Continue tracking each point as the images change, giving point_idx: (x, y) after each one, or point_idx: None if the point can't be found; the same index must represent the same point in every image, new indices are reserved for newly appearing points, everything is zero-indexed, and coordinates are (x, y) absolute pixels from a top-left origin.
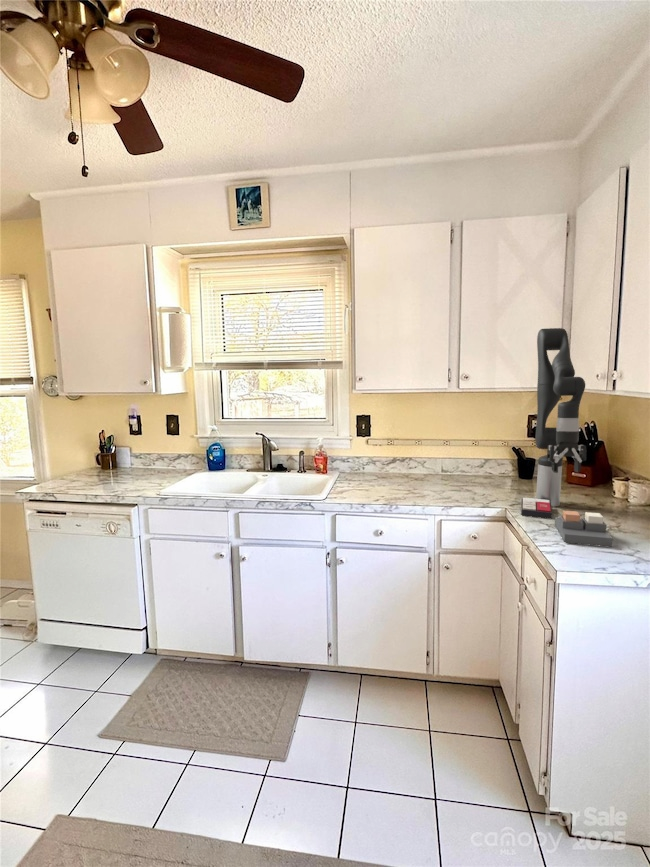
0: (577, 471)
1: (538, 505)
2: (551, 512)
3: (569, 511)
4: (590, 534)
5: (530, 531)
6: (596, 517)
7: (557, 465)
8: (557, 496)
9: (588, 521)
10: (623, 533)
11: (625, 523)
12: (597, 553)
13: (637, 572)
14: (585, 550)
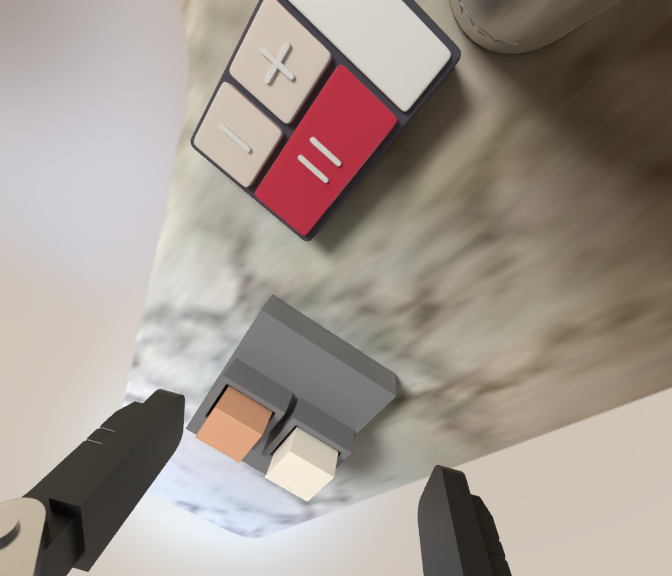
0: (418, 514)
1: (297, 140)
2: (307, 239)
3: (232, 422)
4: (257, 456)
5: (150, 312)
6: (288, 487)
7: (109, 528)
8: (558, 29)
9: (273, 458)
10: (436, 430)
11: (562, 379)
12: (237, 471)
13: (246, 536)
14: (221, 453)
